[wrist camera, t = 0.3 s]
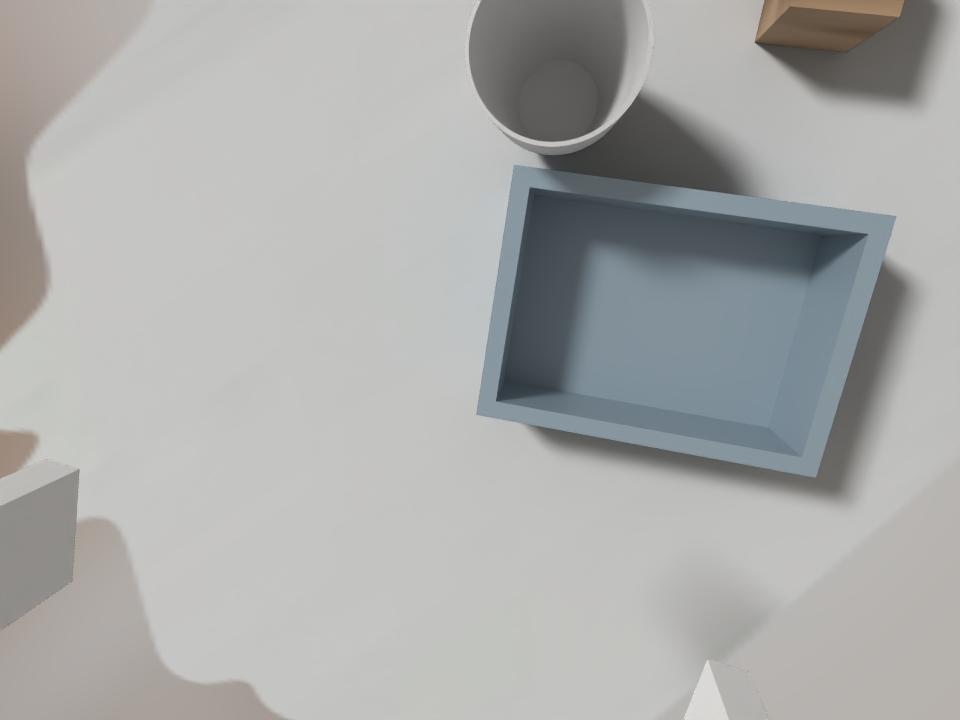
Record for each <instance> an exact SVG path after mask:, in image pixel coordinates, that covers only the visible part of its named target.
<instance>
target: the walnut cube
mask: <svg viewBox="0 0 960 720" xmlns="http://www.w3.org/2000/svg"><path fill="white" fill-rule="evenodd" d="M903 4H904V0H765V1H764V5H763V10H762V14H761V18H760V22H759V27H758V31H757V35H756V39H755V43H764V44H774V45H783V46H793V47H802V48H812V49H822V50H831V51H841V52H848V51H849V50H851V49H852V48H854V47H855V46H857V45H858V44H860V43H861V42H863V41H864V40H866V39H867V38H869V37H870V36H872V35H873V34H875V33H876V32H878V31H879V30H881V29H882V28H884V27H885V26H887V25H888V24H890V23H891V22H893V21H894V20H896V19H897V18H899V17H900V14H901V11H902V7H903Z"/></svg>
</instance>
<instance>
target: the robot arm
mask: <svg viewBox="0 0 960 720" xmlns="http://www.w3.org/2000/svg"><path fill="white" fill-rule="evenodd" d="M78 484H79V469H77V468H74V467H71V466H68V465H64V464H61V463H58V462H54V461H51V460H48V459H46V460H44V461H41V462H39V463H36V464H34V465H32V466H29V467H27V468H25V469H22V470H20V471H17V472H15V473H13V474H10V475H8V476H5V477H3V478H1V479H0V631H1V630H3V629H4V628H6V627H7V626H8V625H10V624H11V623H13V622H14V621H16V620H17V619H19V618H20V617H21V616H23V615H24V614H26V613H27V612H29V611H30V610H32V609H33V608H35V607H36V606H37V605H39V604H40V603H41V602H43V601H45V600H46V599H48V598H49V597H50V596H52V595H53V594H55V593H56V592H58V591H59V590H61V589H62V588H63V587H65V586H66V585H68V584H69V583H71V582H72V581H73V563H74V549H75V548H74V547H75V533H76V517H77V500H78ZM684 720H770V719H769V717H768V715H767V713H766V710H765V708H764V706H763V703H762V701H761V699H760V697H759V694H758V692H757V689H756V687H755V685H754V683H753V681H752V678H751V676H750V674H749V672H748V671H745V670H742V669H739V668H735V667H732V666H729V665H725V664H722V663H719V662H715V661H712V660H709V659H707V662H706V664H705V667H704V669H703V672H702V674H701V677H700V679H699V682H698V684H697V687H696V689H695V692H694V694H693V697H692V700H691V702H690V704H689V707H688V710H687V712H686V715H685V717H684Z"/></svg>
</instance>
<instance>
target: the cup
mask: <svg viewBox="0 0 960 720" xmlns="http://www.w3.org/2000/svg"><path fill="white" fill-rule="evenodd" d="M653 43H654V29H653V19H652V14H651V9H650V6H649V2H648V0H476V2H475V4H474V6H473V9H472V12H471V14H470V17H469V21H468V25H467V29H466V35H465V46H464V57H465V67H466V73H467V77H468V81H469V84H470V87H471V90H472V92H473V95H474V97H475V99H476V101H477V103H478V104H479V106H480V107H481V109H482V110H483V112H484V113H485V114H486V116H487V117H488V118H489V119H490V120H491V121H492V122H493V123H494V124H495V125H496V126H497V127H498V128H499V129H500V130H501V131H502V132H503V133H504V134H505V135H506V136H507V137H508V138H509V139H510V140H511V141H513V142H514V143H515V144H517V145H519V146H520V147H522V148H524V149H526V150H529V151H532V152H535V153H539V154H545V155H563V154H568V153H573V152H576V151H579V150H581V149H584V148H586V147H588V146H590V145H592V144H593V143H595V142H596V141H598V140H599V139H600V138H602V137H603V136H604V135H605V134H606V133H607V132H608V131H609V130H610V129H611V128H612V127H613V126H614V125H615V124H616V122H617V121H618V120H619V119H620V118H621V116H622V115H623V114H624V113H625V111H626V110H627V109H628V108H629V106H630V105H631V104H632V102H633V101H634V99H635V98H636V96H637V95H638V93H639V91H640V89H641V87H642V85H643V83H644V81H645V78H646V76H647V73H648V70H649V66H650V63H651V58H652V52H653Z"/></svg>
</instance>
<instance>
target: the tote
mask: <svg viewBox="0 0 960 720" xmlns="http://www.w3.org/2000/svg"><path fill="white" fill-rule="evenodd" d="M895 219H896V216H891V215H883V214H876V213H869V212H861V211H854V210H846V209H839V208H831V207H824V206H816V205H809V204H801V203H794V202H787V201H779V200H772V199H764V198H757V197H749V196H742V195H734V194H727V193H719V192H712V191H705V190H697V189H690V188H682V187H675V186H667V185H660V184H652V183H645V182H637V181H630V180H623V179H615V178H608V177H600V176H593V175H585V174H578V173H570V172H563V171H555V170H548V169H541V168H533V167H526V166H518V165H514V169H513V175H512V182H511V189H510V195H509V202H508V208H507V215H506V222H505V228H504V235H503V242H502V248H501V255H500V262H499V268H498V275H497V281H496V288H495V295H494V301H493V308H492V315H491V321H490V328H489V334H488V341H487V348H486V354H485V361H484V368H483V374H482V381H481V388H480V394H479V401H478V407H477V414H476V415H481V416H486V417H492V418H497V419H502V420H508V421H513V422H519V423H524V424H529V425H535V426H540V427H546V428H551V429H556V430H562V431H567V432H572V433H578V434H583V435H589V436H594V437H599V438H605V439H610V440H615V441H621V442H626V443H632V444H637V445H642V446H648V447H653V448H659V449H664V450H669V451H675V452H680V453H685V454H691V455H696V456H702V457H707V458H712V459H718V460H723V461H728V462H734V463H739V464H745V465H750V466H755V467H761V468H766V469H771V470H777V471H782V472H788V473H793V474H798V475H804V476H809V477H815V478H816V476H817V473H818V469H819V466H820V463H821V460H822V456H823V453H824V450H825V447H826V443H827V440H828V437H829V434H830V430H831V427H832V424H833V421H834V417H835V414H836V411H837V408H838V404H839V401H840V398H841V395H842V391H843V388H844V385H845V382H846V378H847V375H848V372H849V369H850V365H851V362H852V359H853V356H854V352H855V349H856V346H857V343H858V339H859V336H860V333H861V330H862V326H863V323H864V320H865V317H866V313H867V310H868V307H869V304H870V300H871V297H872V294H873V291H874V287H875V284H876V281H877V278H878V274H879V271H880V268H881V265H882V261H883V258H884V255H885V252H886V248H887V245H888V242H889V239H890V235H891V232H892V229H893V226H894V222H895Z"/></svg>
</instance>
